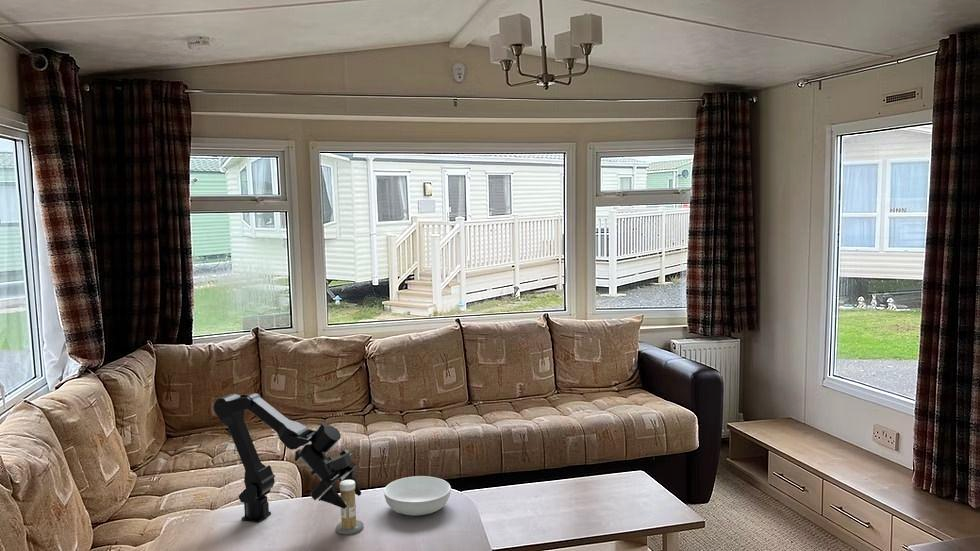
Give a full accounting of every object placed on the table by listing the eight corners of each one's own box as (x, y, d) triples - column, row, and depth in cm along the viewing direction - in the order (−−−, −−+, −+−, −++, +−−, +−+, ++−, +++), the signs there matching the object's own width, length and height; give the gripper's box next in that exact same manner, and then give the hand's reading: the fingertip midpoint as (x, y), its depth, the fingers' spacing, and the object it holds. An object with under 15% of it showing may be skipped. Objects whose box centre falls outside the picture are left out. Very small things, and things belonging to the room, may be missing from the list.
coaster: (330, 532, 196) (330, 530, 196) (344, 521, 203) (344, 518, 203) (355, 536, 193) (355, 533, 193) (368, 524, 201) (368, 521, 201)
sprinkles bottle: (357, 528, 197) (355, 483, 195) (341, 530, 195) (340, 486, 194) (355, 521, 201) (354, 478, 200) (340, 523, 200) (338, 480, 198)
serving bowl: (448, 523, 200) (447, 501, 200) (378, 524, 201) (378, 502, 200) (453, 495, 221) (453, 475, 221) (390, 495, 222) (389, 475, 221)
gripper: (318, 455, 188) (355, 497, 186) (349, 434, 206) (383, 472, 204) (294, 479, 191) (330, 521, 189) (327, 457, 209) (361, 494, 207)
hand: (353, 501), depth 197 cm, fingers open, 9 cm apart
